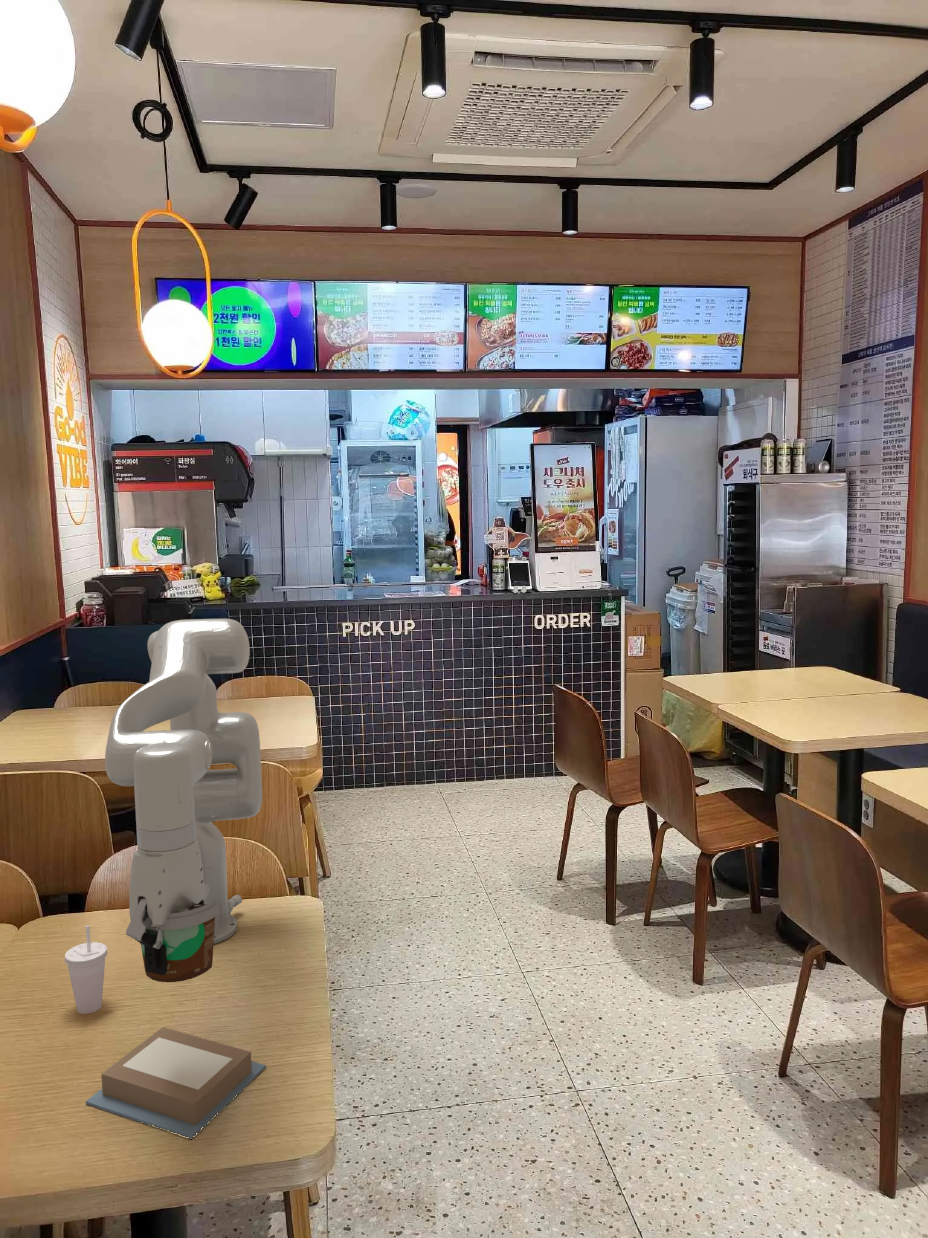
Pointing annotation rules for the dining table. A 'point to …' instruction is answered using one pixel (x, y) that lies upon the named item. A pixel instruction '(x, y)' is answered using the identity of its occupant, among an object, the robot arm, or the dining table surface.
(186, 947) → the food container
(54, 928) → the dining table surface
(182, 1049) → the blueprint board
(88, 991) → the smoothie
